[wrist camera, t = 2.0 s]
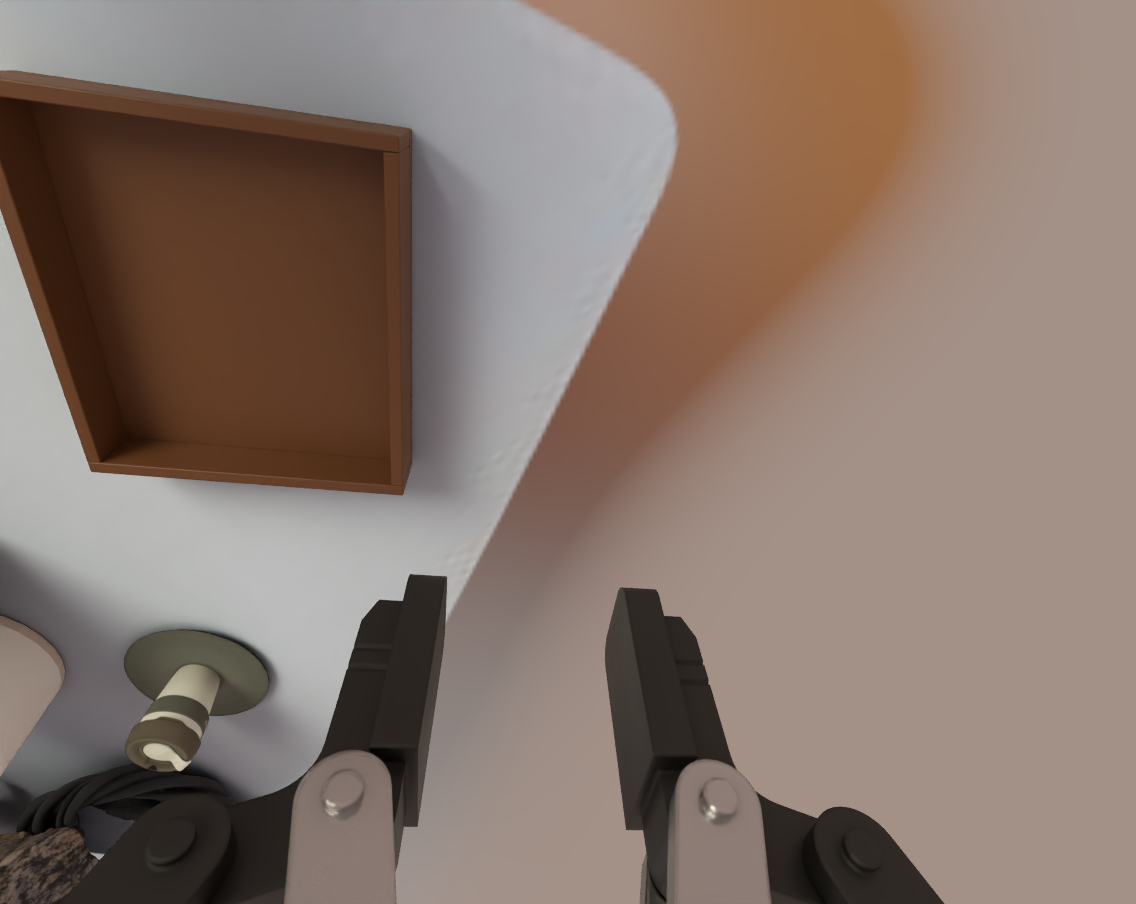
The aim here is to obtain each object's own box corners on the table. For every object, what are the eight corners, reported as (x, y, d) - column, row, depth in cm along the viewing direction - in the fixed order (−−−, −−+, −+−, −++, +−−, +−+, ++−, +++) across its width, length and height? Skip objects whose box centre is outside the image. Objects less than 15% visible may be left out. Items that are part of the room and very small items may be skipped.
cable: (136, 888, 49) (103, 955, 45) (-29, 811, 42) (-84, 882, 38) (303, 828, 45) (282, 896, 41) (151, 733, 38) (110, 803, 34)
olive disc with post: (112, 572, 31) (47, 653, 26) (339, 650, 35) (313, 731, 30) (65, 701, 36) (4, 785, 32) (268, 755, 40) (237, 837, 36)
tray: (14, 70, 19) (-49, 71, 17) (412, 128, 21) (399, 136, 19) (124, 440, 27) (90, 472, 25) (412, 463, 28) (402, 495, 26)
